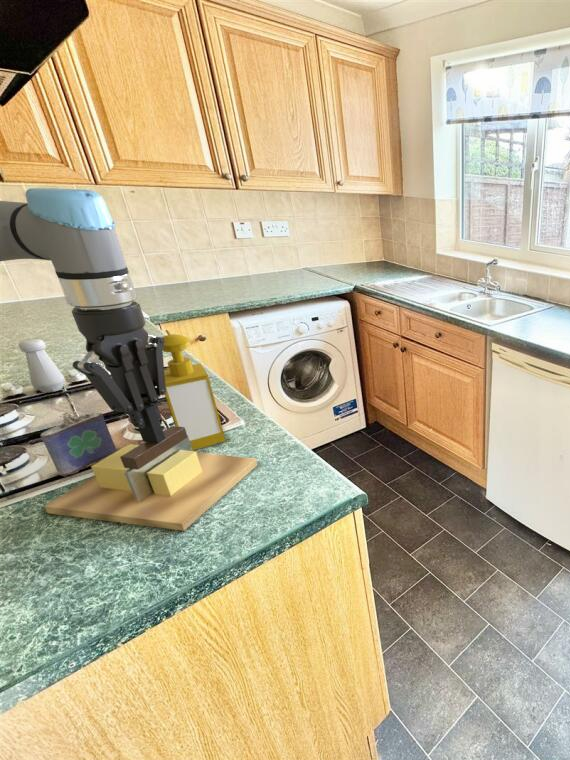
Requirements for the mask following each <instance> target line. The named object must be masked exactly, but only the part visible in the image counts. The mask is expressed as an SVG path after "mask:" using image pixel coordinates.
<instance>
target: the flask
mask: <svg viewBox="0 0 570 760" xmlns="http://www.w3.org/2000/svg"><path fill="white" fill-rule="evenodd" d="M59 418H62V419H63V420H62V422H63V423H61V424H58V425H56V426H54V427H51V428H49V429H46V430H45V431H43V432H42V433H40V438H41V440H42V443H43V444H44V446H45V448H46V450H47V452H48V454H49V456H50V459H51V461H52V463H53V465H54V467H55V469H56V471H57V474H58V475H59V476H60V477H67V476H69V475H74V474H76V473H78V472H79V471H80V470H83V469H86V468H88V467H91V466H93V465H94V464H96V463H98V462H99V461H101V460H103V459H105V458H106V457H108V456H110V455H111V454H113V453H115V452H117V451H118V450H117V449H116V446H115V443H114V441H113V437H112V435H111V433H110V430H109V428H108V425H107V422H106V420H105V416H104V414H103V413H102V412H97V411H94V412H90V413H88V412H87V413H83V414H82V415H79V416H73V415H72V413H71V412H65V413H63V414H62V415H60V416H59Z"/></svg>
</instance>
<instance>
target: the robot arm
mask: <svg viewBox="0 0 570 760" xmlns="http://www.w3.org/2000/svg"><path fill="white" fill-rule="evenodd" d="M24 193H25V195H24V196H25V198H26V202H21V201H11V200H9V201H7V200H0V262H6V261H7V262H9V261H15V260H42V261H51V263H52V266H53V268H54V272H55V274H56V277H57V280H58V282H59V284H60V288H61V290H62V292H63V295H64V298H65V301H66V303H67V305H69V306H71V307H73V308H72V310H71V311H70V312H71V314H72V317H73V320H74V322H75V325H76V327H77V329H78V332H79V333H80V334H81V335H82V336H83V337H84V338H85V341H86V342H85V351H86V352H87V353H86V355H85V356H84V357H83V358H82V360H75V361H73V362H72V368H73V369H74V370H76V371H78V372H79V373H81V374H83V375H84V376H85V377H86V379H88V381H89V382H90V384H91V385H92V386H93V388H94V389H95V391H96V392H97V393H98V394H99V396H100V397H101V398H102V399H103V401H104V402H105V404H106V405H107V406H108V407H109V408H110V410H111V411H112V412H118V413H127V414H128V416H129V419H130V420H131V423H132V426H133V427H134V428H137V429H138V431H139V434H140V437H141V438H142V442H143V443H144V442H154V443H159V442H161V441H162V440H164V439H165V435H164V432H163V431H164V430H163V426H162V424H161V422H160V419H162V414H161V411H160V408H159V405H160V404H162V402H163V398H161V396H165V393H166V385H165V374H164V370H165V365H164V351H163V347H164V343H165V339H164V338H163V337H164V336H153V335H150V334H149V332H148V331H147V330H146V329H145V328H144V327H145V326H146V320H145V316H144V314H143V310H142V307H141V305H140V303H138V302H137V301H135V300H137V298H138V296H137V293H136V290H135V287H134V283H133V281H132V277H131V275H130V272H129V268H128V265H127V262H126V260H125V259H126V258H125V256H124V253H123V250H122V247H121V243H120V240H119V237H118V234H117V230H116V224H115V223H116V222H115V221H114V219H113V218H112V215H111V213H110V211H109V209H108V205H107V204H106V200H105V199H104V197H102V195H101V194H99V193H98V192H97V191H94V190H91V189H80V188H79V189H77V188H75V189H74V188H57V187H56V188H55V187H52V188H51V187H34V188H28V189H27V190H25V192H24ZM104 367H105V368H104Z"/></svg>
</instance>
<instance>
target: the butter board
mask: <svg viewBox="0 0 570 760" xmlns="http://www.w3.org/2000/svg"><path fill="white" fill-rule="evenodd" d="M195 452H196V453H197V456H198V460H199V463H200V466H201V469H202V472H201V473H200V474H199V475H197V476H196V477H195V478H193V479H192V480H191V481H190V482H188V483H187V484H186V485H184V486H183V487H182V488H181V489H179V490H178V491H177V492H175V493H174V494H173V495H172V496H167V495H158V494H155V493H154V492H152V493H151V494H149V495H148V496H147V497H145V498H144V499H143V500H141V501H140V502H136V500H135V498H134V495H133V493H132V491H126V490H118V489H110V488H102V487H100V485H99V483H98V481H97V479H96V476H95V475H93V476H92V477H90V478H88V479H87V480H85V481H83V482H82V483H80V484H78V485H77V486H75V487H74V488H72V489H70V490H68V491H67V492H65V493H64V494H62V495H60V496H59V497H57V498H55V499H54V500H51V501H50V502H49V503H47V504H45V505H44V509H45V511H46V513H47V514H51V515H58V516H66V517H74V518H80V519H81V518H82V519H90V520H97V521H105V522H113V523H120V524H128V525H135V526H143V527H151V528H158V529H167V530H175V531H182V532H185V531H186V530H187V529H188V528H189V527H190V526H192V525H193V524H194V523H195V522H196V521H197V520H198V519H199V518H201V517H202V515H204V514H205V513H206V512H207V511H208V510H209V509H210V508H212V507H213V506H214V505H215V504H216V503H217V502H218V501H219V500H220V499H222V498H223V497H224V496H225V495H226V494H227V493H228V492H229V491H230V490H231V489H233V488H234V487H235V486H236V485H237V484H238V483H240V482H241V481H242V480H243V479H244V478H245V477H246V476H247V475H248V474H249V473H250V472H252V471H253V470H254V469H255V468H256V467H257V466H258V460H257V458H253V457H245V456H244V457H243V456H235V455H226V454H216V453H208V452H200V451H195Z"/></svg>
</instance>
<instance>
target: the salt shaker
mask: <svg viewBox="0 0 570 760" xmlns="http://www.w3.org/2000/svg"><path fill="white" fill-rule="evenodd" d="M18 349H20V351H21V352H22V353H25V358H26V363H27V368H28V374H29V379H30V383H31V385H32V386H33V387H34V388H35V389H37V390H38V391H39V392H40V393H44V394H46V393H54V392H57V391H61V390H63V387H64V384H65V381H66V378H65V376H64V375H63V373H62V372H61V371H60V369H59V368H58V367H57V365H56V364H55V362H54V361H53V360H52V358H51V357H50V355H49V354H48V353H47V351H46V350H45V349H47V345H46V342H44V340H42V339H40V338H31V339H25V340H22V341H20V342H19V343H18Z"/></svg>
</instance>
